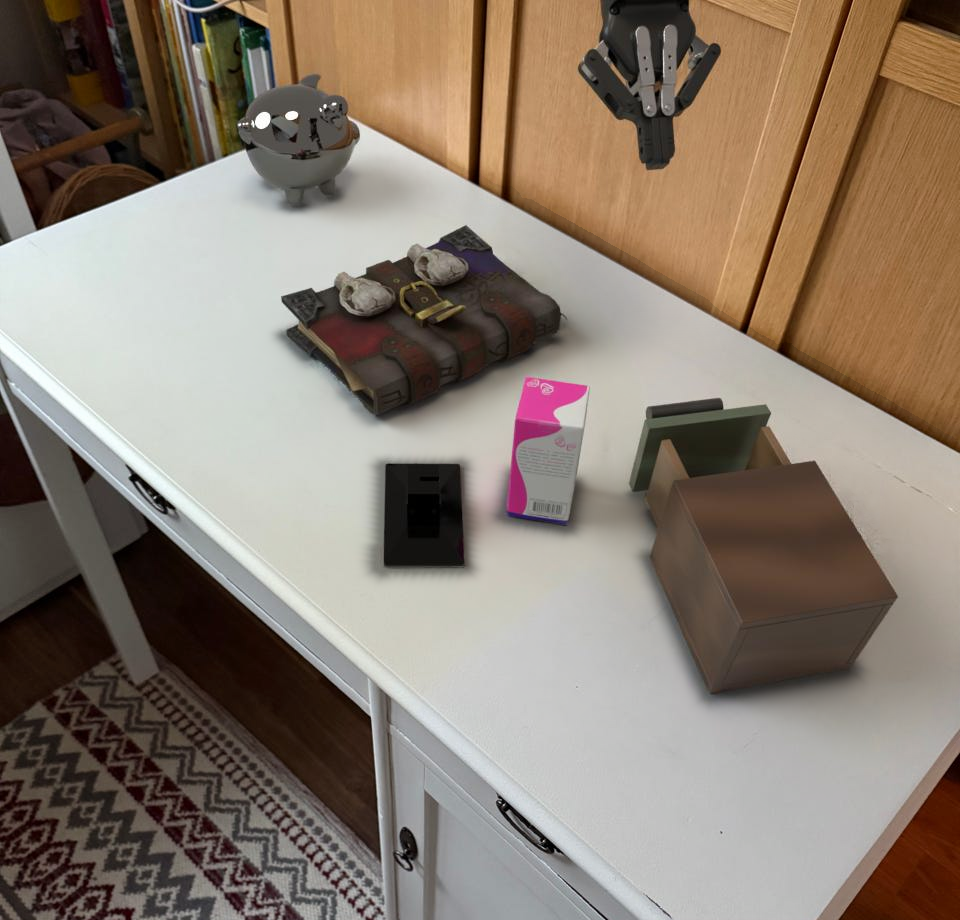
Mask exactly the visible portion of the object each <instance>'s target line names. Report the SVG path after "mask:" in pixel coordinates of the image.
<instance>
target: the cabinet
mask: <svg viewBox="0 0 960 920" xmlns="http://www.w3.org/2000/svg"><path fill="white" fill-rule="evenodd" d="M657 528H658V527H657ZM649 559H650V561H651V563H652V565H653V568H654V570H655V572H656V575H657V578H658V579H659V582H660V584H661V586H662V589H663V591H664V593H665V596H666V598H667V600H668V602H669V604H670V607H671V609H672V611H673V613H674V616H675V618H676V621H677V623H678V625H679V627H680V630H681V632H682V634H683V636H684V639H685V641H686V643H687V646H688V648H689V651H690V653H691V655H692V657H693V659H694V661H695V664H696V666H697V668H698V671H699V673H700V676H701V679H702V680H703V682H704V684H705V687H706V689H707V691H708V694H715V693H720V692H725V691H732V690H736V689H741V688H747V687H752V686H759V685H763V684H769V683H774V682H780V681H785V680H791V679H796V678H803V677H807V676H813V675H818V674H825V673H829V672H836V671H841V670H846V669H851V668H852V667H853V665H854V664H855V662H856V661H857V659H858V657H859V656H860V655H861V653H862V652H863V650H864V649H865V647H866V645H867V644H868V643H869V641H870V640H871V638H872V637H873V636H874V634H875V633H876V631H877V630H878V628H879V627H880V625H881V624H882V622H883V621H884V619H885V617H886V616H887V614H888V613H889V611H890V610H891V609H892V607H893V605H894V603H896V601H897V600H898V598H899V595H898V593H897V592H896V590H895V588H894V587H893V586H892V584H891V582H890V581H889V579H888V577H887V576H886V574H885V572H884V571H883V569H882V568H881V566H880V563H878V561H877V559H876V558H875V556H874V555H873V553H872V551H871V550H870V547H868V545H867V543H866V541H865V540H864V539H863V536H862V535H861V533H860V532H859V530H858V527H856V525H855V523H854V522H853V520H852V518H851V517H850V515H849V513H848V512H847V511H846V508H845V507H844V505H843V504H842V502H841V501H840V499H839V497H838V495H837V494H836V493H835V490H834V489H833V488H832V486H831V485H830V483H829V481H828V479H827V477H826V476H825V474H824V473H823V471H822V470H821V468H820V466H819V465H818V463H817V461H816V460H810V461H803V462H794V463H791V464H787V465H780V466H773V467H766V468H758V469H751V470H744V471H737V472H730V473H722V474H715V475H708V476H701V477H694V478H686V479H679V480H674V481H673V483H672V486H671V489H670V492H669V495H668V499H667V502H666V505H665V509H664V512H663V515H662V518H661V522H660V525H659V528H658V529H657V532H656V535H655V539H654V542H653V545H652V547H651V551H650V555H649Z"/></svg>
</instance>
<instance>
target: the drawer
mask: <svg viewBox="0 0 960 920" xmlns="http://www.w3.org/2000/svg"><path fill="white" fill-rule="evenodd" d="M771 415H772V411H771V410H770V409H769V407H768V405H767V404H766V403H765V404H757V405H749V406H741V407H733V408H725V409H724V402H723V399H722V398H721V397H712V398H706V399H698V400H697V399H696V400H691V401H690V400H689V401H680V402H673V403H665V404H657V405H650V406H647V407H646V409H645V419H644V422H643V425H642V429H641V433H640V437H639V441H638V445H637V449H636V453H635V456H634V457H635V458H634V461H633V465H632V468H631V473H630V478H629V481H628V485H629V488H630V489H631V492H632V493H640V492H646V493H647V494H646V496H645V502H646V505H647V506H648V509H649V512H651V515H652V517H653V519H654V522H655V524H656V526H657V528H659V525H660V522H661V518H662V515H663V512H664V509H665V505H666V502H667V499H668V495H669V492H670V489H671V486H672V483H673V481H674V480H679V479H686V478H694V477H701V476H708V475H715V474H722V473H730V472H737V471H744V470H751V469H758V468H766V467H773V466H780V465H787V464H792V462H791V461H790V459H789V457H788V455H787V454H786V452H785V451H784V449H783V447H782V445H781V443H780V441H779V440H778V438H777V437H776V435H775V433H774V432H773V430H772V428H771V427H770V426H769V425H768V423H769V420H770V418H771ZM767 425H768V426H767Z"/></svg>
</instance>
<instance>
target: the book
mask: <svg viewBox="0 0 960 920" xmlns="http://www.w3.org/2000/svg"><path fill="white" fill-rule="evenodd" d="M280 299H281V303H282V304H283V306H285V307H286V308H287V310H288V311H289V312H290V313H291V314H292V315H293V316H294V317H295V318H296V319H297V320H298V323H297V324H296V325H293V326H292V327H289V328H287V329H286V330H285V333H286V337H288V338H289V339H290V340H291V341H292V342H293V343H295V345H297V347H298V348H300V349H301V350H302V351H303V352H304V354H306V355H308V357H312V356H314V357H315V358H316V359H318V360H319V362H321V363H322V364H323V365H324V366H325V367H326V368H327V369H328V370H329V371H330V372H331V373H332V374H333V375H334V376H335V377H336V378H337V379H338V380H339V381H340V382H341V383H342V384H343V385H344V386H345V387H346V388H348V390H349V391H350V392H352V394H353V395H354V396H355V397H356V398H358V400H359V401H360V403H361V404H362V405H363V407H364V408H365V409H366V410H367V411H368V412H369V413H370V414H372V415H374V416H378V415H380V414H383V413H385V412H388V411H390V410H391V409H393V408H396V407H398V406H400V405H403V404H404V405H407V406H410V405H413V404H414V403H416V402H419V401H421V400H423V399H426V398H428V397H430V396H431V395H433V394H436V393H437V392H438V391H439V390H440V389H441V387H442V386H444V385H445V384H449V383H451V382H452V381H455V382H460V381H462V380H465V379H466V378H468V377H471V376H473V375H475V374H478V373H480V372H482V371H483V370H484V369H485V368H486V367H487V365H490V364H491V363H493V362H495V361H498V360H502V361H507V360H509V359H511V358H514V357H515V356H517V355H520V354H523V353H524V352H527V351H529V350H531V349H532V348H533V346H534V345H535V343H537V342H540V341H542V340H544V339H546V338H548V337H551V336H553V335H555V334H556V333H558V331H560V329H561V328H560V327H561V320H562V316H563V317H564V318H565V319H566V321H568V319H567V316H565V314H564V313H562V312H561V308H560V305H559V304H558V303H557V301H556V300H555V299H554V298H553V297H551V295H549V294H547V293H543V292H541V291H540V290H539V289H537V288H536V287H535V286H534V285H532V284H531V283H529V282H528V281H527V280H526V279H524V278H523V277H522V276H521V275H520V274H518V273H517V272H515V271H514V270H513V269H512V268H511V267H510V266H508V265H507V264H506V263H504V262H503V261H502V260H501V259H499V258H498V257H497V256H496V255H495V254H494V252H493V247H492V246H491V245H490V244H488V243H487V242H486V240H484V239H483V238H482V237H480V235H478V234H477V233H476V232H475V231H473V230H472V229H471V228H470V227H469V226H468V225H466V224H465V225H463V226H461V227H459V228H457V229H455V230H453V231H451V232H449V233H447V234H445V235H443V236H441V237H439V240H438V241H437V242H436V243H434V244H431V245H429V246H427V247H424V246H421V244H419V243H415V244H412V245H411V246H410V247H409V249H408V250H407V252H406V256H404V257H403V258H400V259H398V260H396V261H394V262H392V261H391V260H390V259H386V260H384V261H381V262H379V263H375V264H373V265H371V266H368V267H365V274H364V273H363V274H361V275H358V276H357V277H354V276H352V275H350V274H348V273H347V272H346V271H342V272H340V273H337V276H335V278H334V281H333V286H331V287H328V288H325V289H323V290H321V291H315V290H314V289H313V287H309V288H305V289H302V290H299V291H295V292H291V293H288V294H285V295H282V296H280Z"/></svg>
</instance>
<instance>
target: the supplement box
mask: <svg viewBox="0 0 960 920" xmlns="http://www.w3.org/2000/svg"><path fill="white" fill-rule="evenodd" d="M590 391H591V386H590V385H585V384H579V383H572V382H565V381H557V380H551V379H545V378H544V379H543V378H538V377H537V378H536V377H530V376H525V378H524V383H523V387H522V390H521V394H520V399H519V402H518V407H517V409H516V413H515V418H514V425H513V427H514V428H513V439H512V448H511V459H510V469H509V470H510V471H509V482H508V490H507V491H508V493H507V501H506V502H507V503H506V515H507V516H508V517H514V518H520V519H526V520H533V521H537V522H538V521H540V522H545V523H551V524H558V525H564V526H568V524H569V519H570V515H571V509H572V504H573V503H572V502H573V498H574V494H575V488H576V487H575V486H576V481H577V474H578V469H579V464H580V458H581V451H582V445H583V439H584V434H585V427H586V421H587V413H588V406H589V397H590Z"/></svg>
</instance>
